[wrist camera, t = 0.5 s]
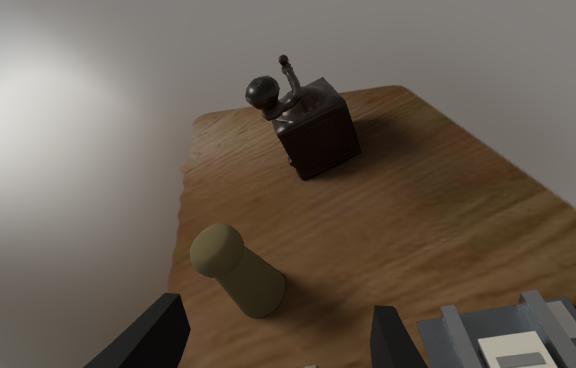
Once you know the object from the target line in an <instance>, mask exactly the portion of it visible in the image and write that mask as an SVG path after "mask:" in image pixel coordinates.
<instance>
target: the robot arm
mask: <svg viewBox="0 0 576 368" xmlns="http://www.w3.org/2000/svg"><path fill="white" fill-rule="evenodd" d="M190 330H191V329H190V326H189V322H188V319H187V316H186V313H185V310H184V306H183V303H182V300H181V297H180V294H172V293H164V294H163V295H162V296H161V297H160V298H159V299H158V300H157V301H156V302H155V303H154V304H152V305H151V306H150V307H149V308H148V309H147V310H146V311H145V312H144V313H143V314H142V315H141V316H140V317H139V318H138V319H137V320H136V321H135V322H133V323H132V324H131V325H130V326H129V327H128V328H127V329H126V330H125V331H124V332H123V333H122V334H121V335H119V336H118V337H117V338H116V339H115V340H114V341H113V342H112V343H111V344H110V345H109V346H107V347H106V348H105V349H104V350H103V351H102V352H101V353H99V354H98V355H97V356H96V357H95V358H94V359H93V360H91V361H90V362H89V363H88V364H87V365H86V366H85V367H84V368H177V367H178V364H179V362H180V360H181V357H182V355H183V352H184V349H185V346H186V343H187V340H188V337H189V333H190ZM370 349H371V359H372V368H428V367H427V365H426V363H425V362H424V360H423V359H422V357H421V355H420V354H419V352H418V350H417V348H416V347H415V345H414V343H413V341H412V340H411V338H410V336H409V334H408V332H407V331H406V329H405V327H404V325H403V323H402V321H401V319H400V317H399V315H398V313H397V311H396V309H395V308H394V307H393V306H377V305H375V306H374V314H373V322H372V330H371V338H370Z"/></svg>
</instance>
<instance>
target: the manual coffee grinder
mask: <svg viewBox="0 0 576 368" xmlns="http://www.w3.org/2000/svg"><path fill="white" fill-rule="evenodd" d="M288 62H289V61H288V57H287V56H286V55H281V56H280V57H279V63H280V64H281V65H282V72H283V73H284V74H285V75H286V76H287V78H288V81H289V83H290V85H291V88H292V91H290V92H288V93H287V94H286V95H285V96H284V97H283V98H282V99H280V100H278V95H279V89H280V88H279V85H278V83H277V81H276V80H275V79H273V78H272V77H270V76H262V77H258V78H256V79H254V80H253V81H252V82H251V83H250V84H249V86H248V87H247V90H246V95H245V97H246V101H247V102H248V103H249V104H251V105H252V106H254V107H255V108H257V109H260V110H262V113H263V115H262V116H263V117H264V118H265V119H266V120H268V121H270V120H272V123H273V126H274V130H275V132H276V134H277V136H278V138H279V139H280V141H281V143H282V145H283V146H284V148H285V150H286V152H287V154H288V156H289V158H288V160H289V163H290V165H291V166H293V167H295V168H296V171H297V174H298V175H299V177H300V178H301V179H302V180H305V179H308V178H311V177H314V176H317V175H319V174H321V173H323V172H325V171H327V170H329V169H331V168H334V167H336V166H338V165H340V164H342V163H344V162H346V161H348V160H349V159H351V158H353V157H354V156H356V155H358V154H359V153H361V149H360V146H359V143H358V139H357V135H356V132H355V129H354V126H353V122H352V119H351V116H350V113H349V110H348V107H347V104H346V102H345V100H344V99H343V98H342V97H341V96H340V95H339V94H338V93H337V91H336V90H335V89H334V88H333V87H332V86H331V85H330V84H329V83H328V82H327V81H326V80H325V79H324V78H323V77H322V78H320V79H318V80H316V81H314V82H312V83H310V84H309V85H306V86H304V87H301V86H300V83H299V81H298V79H297V77H296V75H295V74H294V71H293V68H292V67H291V64H289V63H288Z"/></svg>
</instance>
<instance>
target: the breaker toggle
mask: <svg viewBox="0 0 576 368" xmlns="http://www.w3.org/2000/svg"><path fill="white" fill-rule="evenodd" d="M478 348H479V350H480V353H481V355H482V357H483V359H484V361H485V364H486V366H487V368H557V366H556V364H555V363H554V361H553V359H552V358H551V356H550V354H549V353H548V351H547V350H546V348H545V346H544V345H543V343H542V341H541V340H540V338H539V336H538V335H537V333H536V332H535V331H531V332H524V333H517V334H510V335H503V336H496V337H489V338H482V339H478Z"/></svg>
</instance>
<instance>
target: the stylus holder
mask: <svg viewBox="0 0 576 368" xmlns="http://www.w3.org/2000/svg"><path fill="white" fill-rule="evenodd" d="M299 368H319V367H318V366H316V365H313V366H306V367H299Z"/></svg>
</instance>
